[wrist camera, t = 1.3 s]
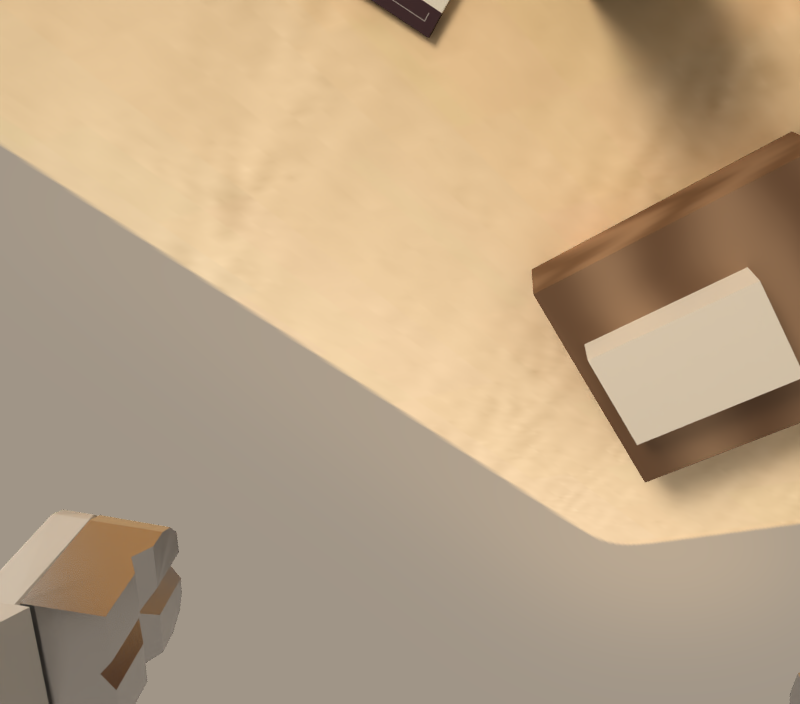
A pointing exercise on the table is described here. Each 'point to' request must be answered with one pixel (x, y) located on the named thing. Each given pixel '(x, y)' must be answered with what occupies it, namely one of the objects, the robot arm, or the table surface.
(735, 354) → the rectangular block
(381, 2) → the chocolate bar
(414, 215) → the table surface
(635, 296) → the wooden square slab
